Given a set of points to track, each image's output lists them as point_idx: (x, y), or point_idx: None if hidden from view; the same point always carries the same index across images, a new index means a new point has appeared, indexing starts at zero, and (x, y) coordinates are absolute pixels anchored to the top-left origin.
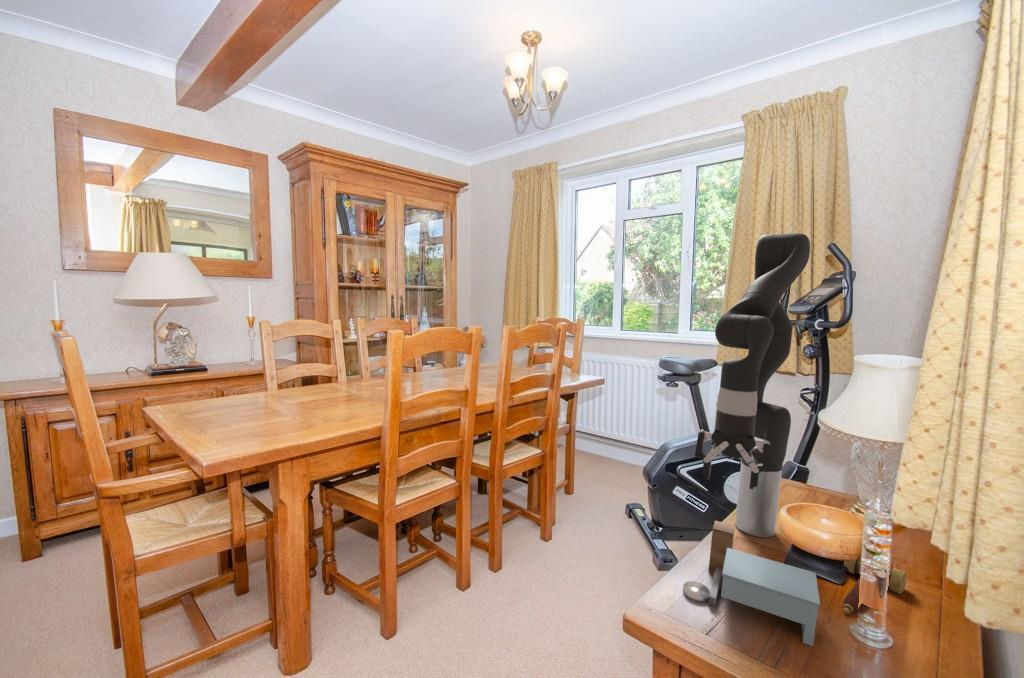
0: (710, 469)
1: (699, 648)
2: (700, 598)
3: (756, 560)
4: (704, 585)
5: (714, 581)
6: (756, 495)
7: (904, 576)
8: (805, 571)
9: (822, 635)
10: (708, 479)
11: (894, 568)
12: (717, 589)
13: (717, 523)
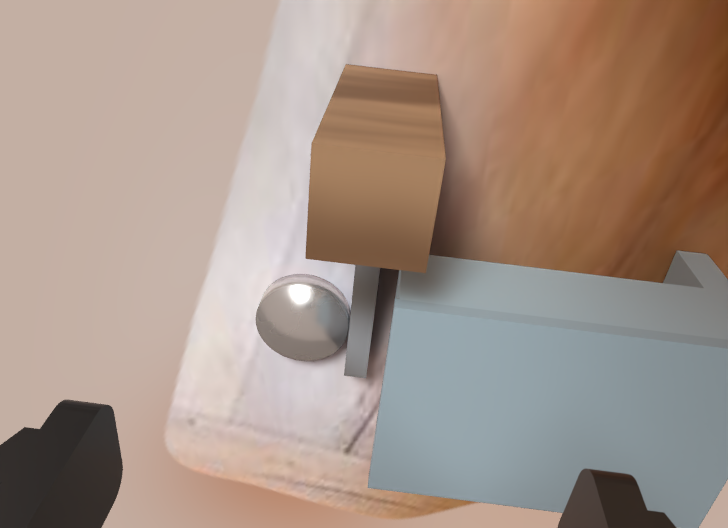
0: (57, 519)
1: (333, 493)
2: (319, 357)
3: (525, 362)
4: (326, 295)
5: (359, 292)
6: None
7: None
8: None
9: None
10: (116, 482)
11: None
12: (370, 332)
13: (330, 183)
